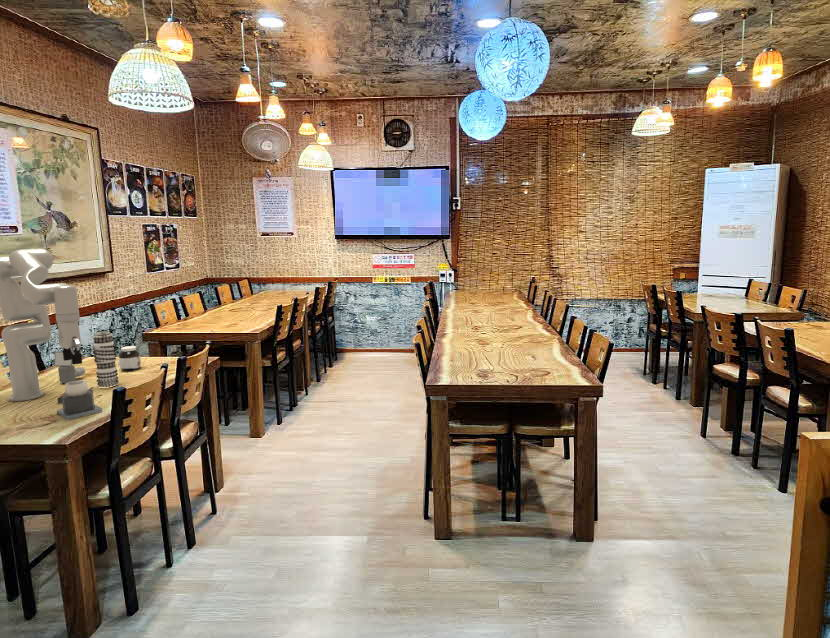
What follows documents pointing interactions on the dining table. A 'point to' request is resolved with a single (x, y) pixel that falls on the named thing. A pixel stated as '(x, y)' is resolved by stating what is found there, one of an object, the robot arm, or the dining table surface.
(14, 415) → the dining table surface
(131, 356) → the spread jar
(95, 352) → the decorative candle
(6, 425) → the dining table surface
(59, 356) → the camera
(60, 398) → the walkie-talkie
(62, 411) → the gray square-based holder
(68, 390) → the cup
